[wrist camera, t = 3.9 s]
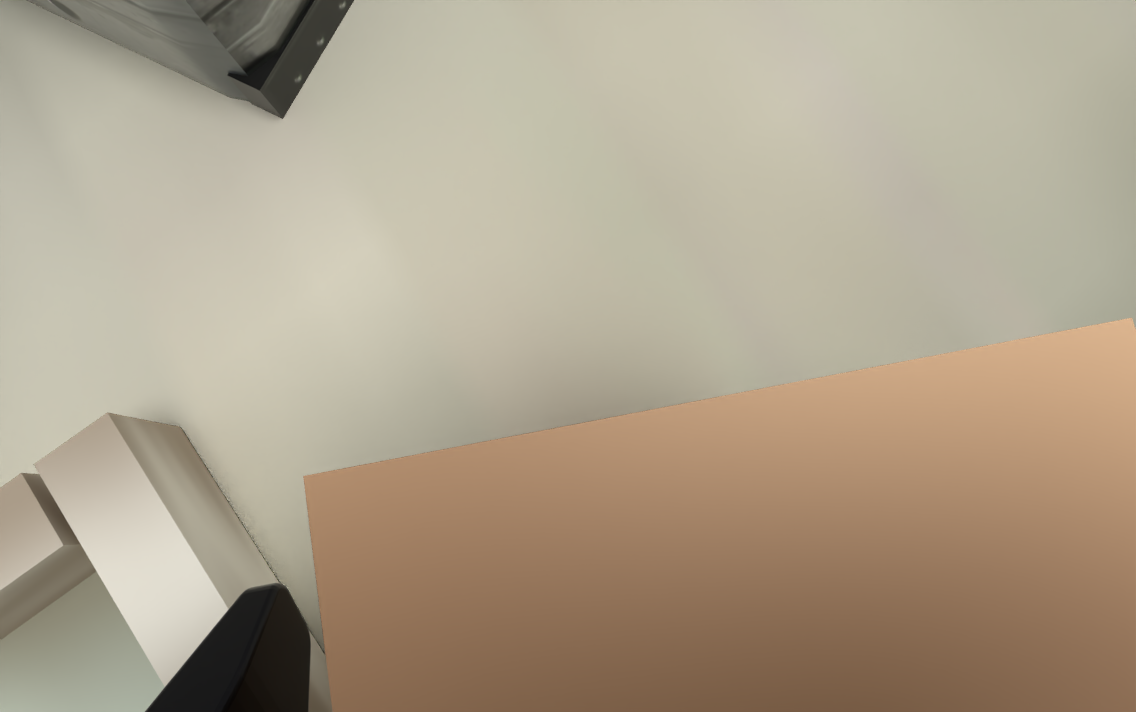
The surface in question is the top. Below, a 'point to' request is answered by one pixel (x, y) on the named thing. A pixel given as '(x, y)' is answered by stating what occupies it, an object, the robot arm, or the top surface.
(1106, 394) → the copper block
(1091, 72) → the top surface
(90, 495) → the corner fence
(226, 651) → the robot arm
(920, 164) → the top surface
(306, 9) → the hard drive
